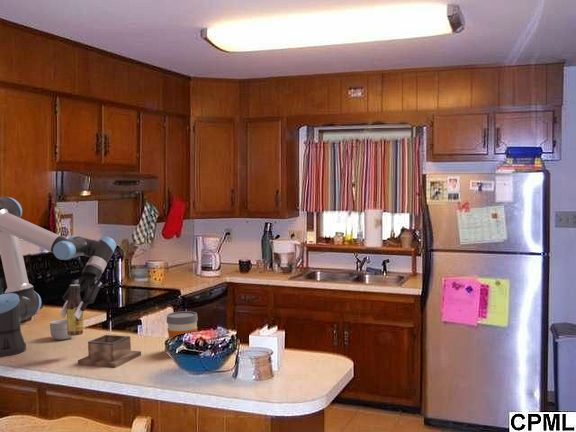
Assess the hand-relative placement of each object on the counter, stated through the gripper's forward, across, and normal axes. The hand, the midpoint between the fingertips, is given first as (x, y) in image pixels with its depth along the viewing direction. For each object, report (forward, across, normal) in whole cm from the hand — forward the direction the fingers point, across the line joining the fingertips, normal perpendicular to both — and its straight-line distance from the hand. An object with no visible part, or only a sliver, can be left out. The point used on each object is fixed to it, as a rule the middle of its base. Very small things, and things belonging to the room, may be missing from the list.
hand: (69, 316), depth 244 cm
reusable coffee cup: (-4, -38, -27) cm, 47 cm away
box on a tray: (+9, -16, -14) cm, 23 cm away
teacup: (-7, +24, -31) cm, 40 cm away
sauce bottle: (+3, 0, -8) cm, 9 cm away
